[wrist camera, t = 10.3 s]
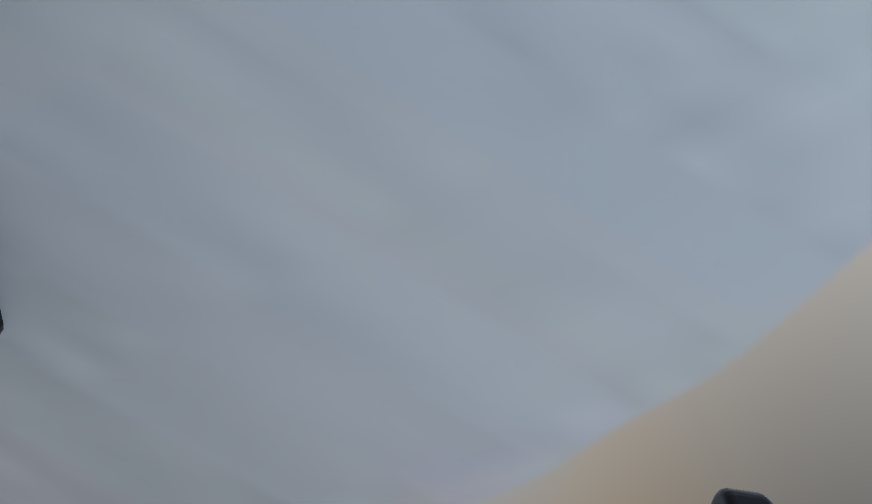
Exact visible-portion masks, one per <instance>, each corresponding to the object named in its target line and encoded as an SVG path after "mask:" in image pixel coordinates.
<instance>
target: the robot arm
mask: <svg viewBox="0 0 872 504" xmlns="http://www.w3.org/2000/svg"><path fill="white" fill-rule="evenodd" d="M2 331H3V320H2V315H1V311H0V334H1V332H2ZM711 504H773V503H772V502H771V501H770V500H769V499H768V498H767V497H765V496H764V495H762V494H760V493H756V492H750V491H743V490H735V489H728V488H725V489H721V490H719V491H718V492H717V493H716V495H715V496H714V499H713V501H712V503H711Z"/></svg>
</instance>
